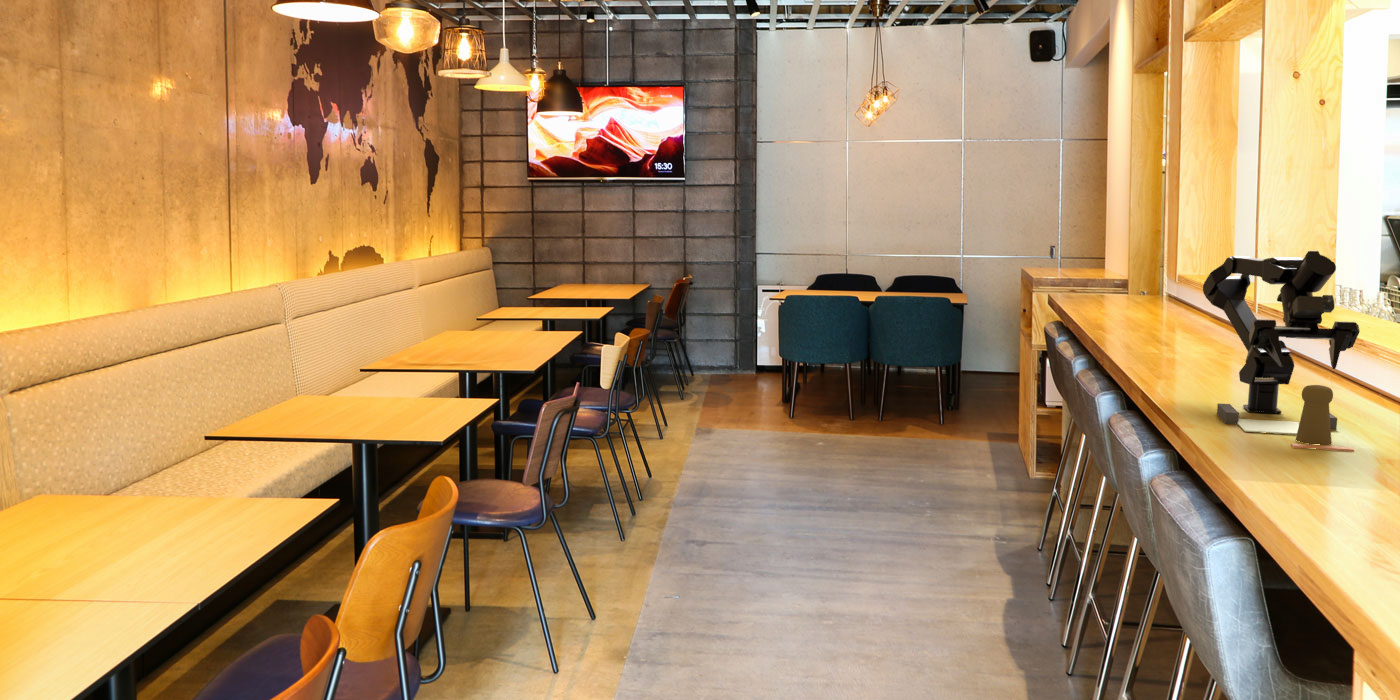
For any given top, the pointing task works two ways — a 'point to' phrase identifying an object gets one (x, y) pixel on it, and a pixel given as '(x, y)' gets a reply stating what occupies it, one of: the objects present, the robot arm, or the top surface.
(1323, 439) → the cork
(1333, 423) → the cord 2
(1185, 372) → the top surface
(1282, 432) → the pad
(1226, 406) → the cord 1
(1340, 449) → the off strip
